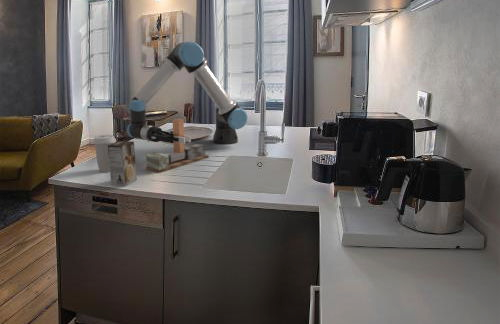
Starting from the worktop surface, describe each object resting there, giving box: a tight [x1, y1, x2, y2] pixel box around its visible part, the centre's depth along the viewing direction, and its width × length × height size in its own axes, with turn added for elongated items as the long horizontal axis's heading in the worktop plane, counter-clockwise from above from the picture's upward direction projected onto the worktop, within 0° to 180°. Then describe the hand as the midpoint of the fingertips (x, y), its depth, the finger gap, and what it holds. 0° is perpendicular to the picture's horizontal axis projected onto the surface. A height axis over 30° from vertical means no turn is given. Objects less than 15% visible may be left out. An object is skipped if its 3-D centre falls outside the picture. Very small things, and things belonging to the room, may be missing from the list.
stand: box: [145, 143, 210, 174], centre depth 178 cm, size 33×9×7 cm, turn 146°
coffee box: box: [108, 140, 138, 187], centre depth 148 cm, size 9×6×16 cm
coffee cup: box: [92, 134, 117, 173], centre depth 164 cm, size 10×10×15 cm
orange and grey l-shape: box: [167, 118, 187, 162], centre depth 178 cm, size 20×4×19 cm, turn 146°
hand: (187, 139), depth 173 cm, fingers closed on orange and grey l-shape, 3 cm apart
